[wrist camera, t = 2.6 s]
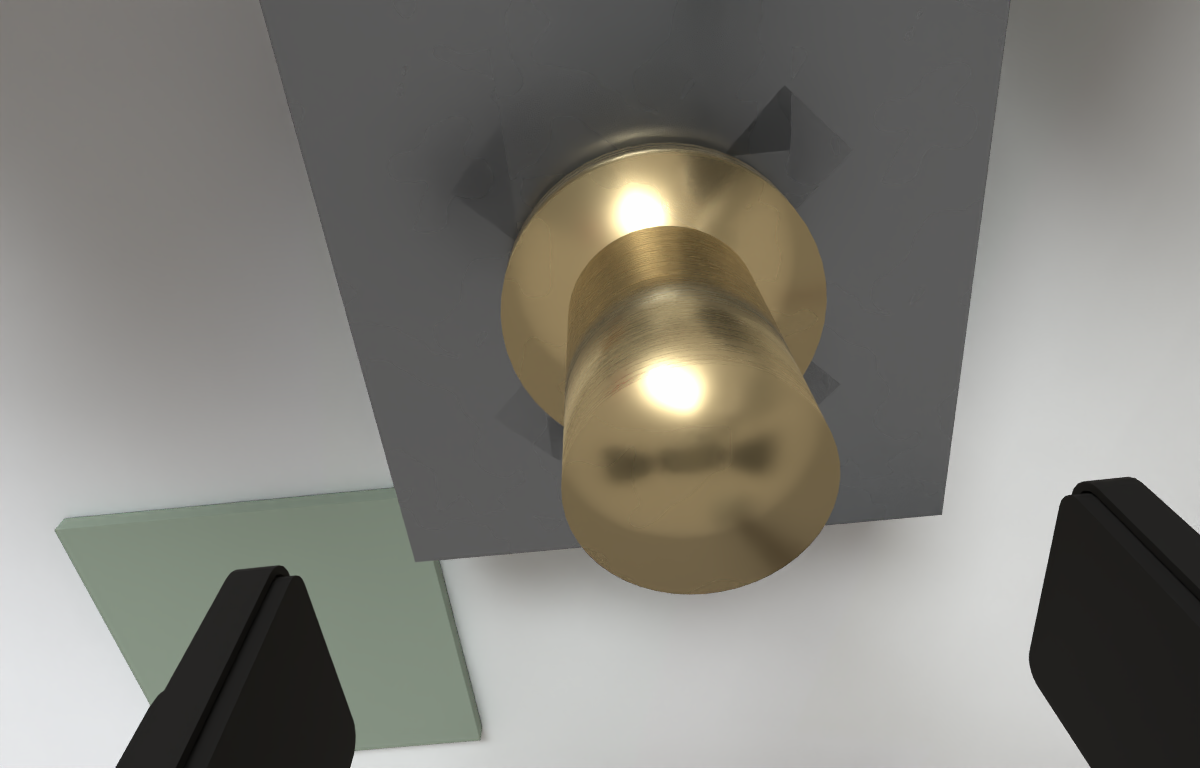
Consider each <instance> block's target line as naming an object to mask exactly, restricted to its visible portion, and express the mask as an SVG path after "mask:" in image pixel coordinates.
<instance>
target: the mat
mask: <svg viewBox="0 0 1200 768" xmlns="http://www.w3.org/2000/svg"><path fill="white" fill-rule="evenodd" d="M55 532H56V534H57V536H58V538H59V539H60V541H61V543H62V545H63V547H64V549H65V550H66V552H67V554H68V556H69V558H70V559H71V561H72V563H73V565H74V567H75V569H76V570H77V572H78V574H79V576H80V578H81V580H82V581H83V583H84V585H85V587H86V589H87V591H88V592H89V594H90V596H91V598H92V600H93V601H94V603H95V605H96V607H97V609H98V611H99V612H100V614H101V616H102V618H103V620H104V622H105V623H106V625H107V627H108V629H109V631H110V633H111V634H112V636H113V638H114V640H115V642H116V643H117V645H118V647H119V649H120V651H121V653H122V654H123V656H124V658H125V660H126V662H127V664H128V665H129V667H130V669H131V671H132V673H133V675H134V676H135V678H136V680H137V682H138V684H139V685H140V687H141V689H142V691H143V693H144V695H145V696H146V698H147V700H148V702H149V704H150V706H151V704H152V703H153V701H154V700H155V699H156V697H157V696H158V695H159V694H160V693H161V692H163V691H164V690H165V688H166V686H167V684H168V682H169V681H170V679H171V677H172V675H173V673H174V672H175V670H176V668H177V666H178V664H179V663H180V661H181V659H182V657H183V655H184V654H185V652H186V650H187V648H188V646H189V645H190V643H191V641H192V639H193V637H194V636H195V634H196V632H197V630H198V628H199V627H200V625H201V623H202V621H203V619H204V618H205V616H206V614H207V612H208V610H209V608H210V607H211V605H212V603H213V601H214V599H215V598H216V596H217V594H218V592H219V590H220V589H221V587H222V585H223V583H224V581H225V580H226V578H227V577H228V575H229V574H230V573H231V572H232V571H234V570H237V569H247V568H256V567H266V566H276V565H280V566H284V567H285V568H286V569H287V570H288V572H289V574H290V576H295V575H297V576H300V577H301V578H302V579H303V581H304V583H305V586H306V589H307V591H308V594H309V597H310V600H311V603H312V605H313V608H314V611H315V614H316V617H317V619H318V622H319V625H320V628H321V631H322V633H323V636H324V639H325V642H326V645H327V647H328V650H329V653H330V656H331V659H332V661H333V664H334V667H335V670H336V673H337V675H338V678H339V681H340V684H341V687H342V689H343V692H344V695H345V698H346V701H347V703H348V706H349V709H350V712H351V715H352V717H353V720H354V724H355V731H356V743H355V751H357V750H369V749H381V748H393V747H406V746H418V745H430V744H442V743H454V742H466V741H478V740H480V738H481V730H482V726H481V722H480V718H479V714H478V710H477V706H476V703H475V699H474V695H473V691H472V687H471V683H470V679H469V675H468V671H467V668H466V664H465V660H464V656H463V652H462V648H461V644H460V640H459V637H458V633H457V629H456V625H455V621H454V617H453V613H452V609H451V606H450V602H449V598H448V594H447V590H446V586H445V582H444V578H443V575H442V571H441V567H440V563H439V560H435V561H424V562H415V560H414V556H413V553H412V549H411V545H410V542H409V538H408V535H407V531H406V527H405V524H404V520H403V517H402V513H401V509H400V506H399V502H398V499H397V495H396V491H395V488H385V489H375V490H364V491H353V492H343V493H332V494H321V495H311V496H300V497H289V498H279V499H268V500H257V501H247V502H236V503H225V504H215V505H204V506H193V507H183V508H172V509H161V510H150V511H140V512H129V513H118V514H108V515H97V516H86V517H76V518H65V519H64V520H63V521H62V522H61V523H60V524H59V526H58V527H57V528H56V529H55Z"/></svg>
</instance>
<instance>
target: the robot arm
mask: <svg viewBox="0 0 1200 768" xmlns="http://www.w3.org/2000/svg"><path fill="white" fill-rule="evenodd" d="M1029 664H1030V668H1031V673H1032V675H1033V678H1034V680H1035V682H1036V684H1037V686H1038V687H1039V689H1040V690H1041V692H1042V694H1043V695H1044V697H1045V698H1046V700H1047V701H1048V703H1049V704H1050V706H1051V707H1052V709H1053V710H1054V712H1055V714H1056V715H1057V717H1058V718H1059V720H1060V721H1061V723H1062V724H1063V726H1064V727H1065V729H1066V730H1067V732H1068V733H1069V735H1070V737H1071V738H1072V740H1073V741H1074V743H1075V744H1076V746H1077V747H1078V749H1079V750H1080V752H1081V753H1082V755H1083V756H1084V758H1085V760H1086V761H1087V763H1088V764H1089V766H1090V767H1091V768H1200V535H1199V534H1198V533H1197V532H1196V531H1195V530H1194V529H1193V528H1192V527H1191V526H1189V525H1188V524H1187V523H1186V522H1185V521H1184V520H1183V519H1182V518H1181V517H1179V516H1178V515H1177V514H1176V513H1175V512H1174V511H1173V510H1172V509H1171V508H1170V507H1168V506H1167V505H1166V504H1165V503H1164V502H1163V501H1162V500H1161V499H1160V498H1158V497H1157V496H1156V495H1155V494H1154V493H1153V492H1152V491H1151V490H1150V489H1148V488H1147V487H1146V486H1145V485H1144V484H1143V483H1142V482H1140V481H1139V480H1137V479H1136V478H1131V477H1122V478H1113V479H1103V480H1093V481H1084V482H1081V483H1078V484H1077V485H1076V487H1075V488H1074V489H1073V492H1072V495H1068V496H1065V497H1064V498H1063V499H1062V500H1061V503H1060V506H1059V511H1058V516H1057V520H1056V525H1055V530H1054V535H1053V540H1052V545H1051V549H1050V554H1049V559H1048V564H1047V569H1046V574H1045V579H1044V583H1043V588H1042V593H1041V598H1040V603H1039V608H1038V612H1037V617H1036V622H1035V627H1034V632H1033V637H1032V642H1031V646H1030V651H1029ZM355 743H356V731H355V724H354V720H353V717H352V715H351V712H350V709H349V706H348V703H347V701H346V698H345V695H344V692H343V689H342V687H341V684H340V681H339V678H338V675H337V673H336V670H335V667H334V664H333V661H332V659H331V656H330V653H329V650H328V647H327V645H326V642H325V639H324V636H323V633H322V631H321V628H320V625H319V622H318V619H317V617H316V614H315V611H314V608H313V605H312V603H311V600H310V597H309V594H308V591H307V589H306V586H305V583H304V581H303V579H302V578H301V577H300V576H297V575H295V576H290V574H289V572H288V570H287V569H286V568H285V567H284V566H280V565H276V566H266V567H256V568H247V569H237V570H234V571H232V572H231V573H230V574H229V575H228V577H227V578H226V580H225V581H224V583H223V585H222V587H221V589H220V590H219V592H218V594H217V596H216V598H215V599H214V601H213V603H212V605H211V607H210V608H209V610H208V612H207V614H206V616H205V618H204V619H203V621H202V623H201V625H200V627H199V628H198V630H197V632H196V634H195V636H194V637H193V639H192V641H191V643H190V645H189V646H188V648H187V650H186V652H185V654H184V655H183V657H182V659H181V661H180V663H179V664H178V666H177V668H176V670H175V672H174V673H173V675H172V677H171V679H170V681H169V682H168V684H167V686H166V688H165V690H164V691H163V692H161V693H160V694H159V695H158V696H157V697H156V699H155V700H154V701H153V703H152V704H151V706H150V707H149V709H148V711H147V712H146V714H145V716H144V718H143V720H142V721H141V723H140V725H139V727H138V728H137V730H136V732H135V734H134V736H133V737H132V739H131V741H130V743H129V744H128V746H127V748H126V750H125V752H124V753H123V755H122V757H121V759H120V760H119V762H118V764H117V766H116V768H350V767H351V763H352V759H353V755H354V751H355Z"/></svg>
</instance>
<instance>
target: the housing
mask: <svg viewBox="0 0 1200 768" xmlns="http://www.w3.org/2000/svg"><path fill="white" fill-rule="evenodd" d="M260 4H261V8H262V11H263V15H264V18H265V22H266V26H267V29H268V33H269V36H270V40H271V44H272V47H273V51H274V54H275V58H276V62H277V65H278V69H279V73H280V76H281V80H282V83H283V87H284V91H285V94H286V98H287V101H288V105H289V109H290V112H291V116H292V119H293V123H294V127H295V130H296V134H297V137H298V141H299V145H300V148H301V152H302V156H303V159H304V163H305V166H306V170H307V174H308V177H309V181H310V184H311V188H312V192H313V195H314V199H315V202H316V206H317V210H318V213H319V217H320V221H321V224H322V228H323V231H324V235H325V239H326V242H327V246H328V249H329V253H330V257H331V260H332V264H333V267H334V271H335V275H336V278H337V282H338V286H339V289H340V293H341V296H342V300H343V304H344V307H345V311H346V314H347V318H348V322H349V325H350V329H351V332H352V336H353V340H354V343H355V347H356V351H357V354H358V358H359V361H360V365H361V369H362V372H363V376H364V379H365V383H366V387H367V390H368V394H369V397H370V401H371V405H372V408H373V412H374V416H375V419H376V423H377V426H378V430H379V434H380V437H381V441H382V444H383V448H384V452H385V455H386V459H387V462H388V466H389V470H390V473H391V477H392V480H393V484H394V488H395V491H396V495H397V499H398V502H399V506H400V509H401V513H402V517H403V520H404V524H405V527H406V531H407V535H408V538H409V542H410V545H411V549H412V553H413V556H414V560H415V562H424V561H435V560H446V559H457V558H468V557H479V556H491V555H502V554H513V553H524V552H535V551H546V550H557V549H568V548H579V547H582V546H581V545H580V544H579V543H578V541H577V539H576V538H575V536H574V535H573V533H572V531H571V529H570V527H569V524H568V522H567V519H566V517H565V513H564V508H563V504H562V493H561V480H562V455H563V430H564V426H562V425H561V424H560V423H558V422H557V421H556V420H554V419H553V418H552V417H551V416H549V415H548V414H547V413H546V412H545V411H544V410H543V409H542V408H541V407H540V406H539V405H538V404H537V403H536V402H535V401H534V399H533V398H532V397H531V396H530V394H529V393H528V392H527V390H526V389H525V388H524V386H523V385H522V383H521V381H520V379H519V378H518V376H517V374H516V373H515V371H514V368H513V366H512V363H511V361H510V359H509V356H508V354H507V350H506V346H505V342H504V338H503V333H502V324H501V295H502V290H503V284H504V279H505V274H506V269H507V265H508V261H509V257H510V254H511V251H512V248H513V245H514V242H515V239H516V237H517V235H518V233H519V231H520V229H521V227H522V225H523V223H524V221H525V220H526V218H527V217H528V216H529V214H530V213H531V211H532V210H533V208H534V207H535V205H536V204H537V203H538V202H539V201H540V200H541V198H542V197H543V196H544V195H545V194H546V193H547V192H548V191H549V190H550V188H552V187H553V186H554V185H555V184H556V183H558V182H559V181H560V180H561V179H562V178H564V177H565V176H566V175H567V174H569V173H570V172H572V171H573V170H575V169H577V168H578V167H580V166H581V165H583V164H584V163H586V162H588V161H590V160H593V159H595V158H597V157H599V156H601V155H603V154H606V153H609V152H612V151H615V150H618V149H621V148H625V147H629V146H634V145H640V144H646V143H662V142H675V143H685V144H694V145H698V146H703V147H707V148H711V149H715V150H717V151H720V152H723V153H725V154H728V155H730V156H733V157H735V158H737V159H739V160H741V161H742V162H744V163H746V164H748V165H749V166H751V167H753V168H754V169H756V170H757V171H758V172H759V173H761V174H762V175H763V176H765V177H766V178H767V179H769V180H770V181H771V182H772V183H773V184H774V185H775V186H776V187H777V189H778V190H779V191H780V192H781V193H782V194H783V195H784V196H785V197H786V198H787V200H788V201H789V202H790V204H791V205H792V206H793V207H794V209H795V210H796V211H797V213H798V214H799V215H800V217H801V218H802V220H803V221H804V222H805V224H806V225H807V227H808V229H809V231H810V233H811V235H812V237H813V239H814V241H815V243H816V245H817V248H818V251H819V254H820V257H821V260H822V263H823V268H824V274H825V279H826V295H827V304H826V313H825V322H824V326H823V330H822V334H821V338H820V341H819V344H818V346H817V349H816V351H815V354H814V356H813V359H812V361H811V362H810V364H809V366H808V368H807V370H806V371H805V373H804V375H803V378H804V379H805V381H806V383H807V385H808V387H809V389H810V391H811V393H812V395H813V397H814V399H815V401H816V403H817V405H818V407H819V409H820V411H821V413H822V415H823V417H824V419H825V421H826V423H827V425H828V427H829V429H830V431H831V433H832V435H833V438H834V441H835V443H836V446H837V450H838V455H839V460H840V483H839V491H838V495H837V498H836V502H835V505H834V508H833V510H832V512H831V514H830V516H829V519H828V521H827V522H826V524H825V525H833V524H844V523H855V522H866V521H877V520H888V519H899V518H910V517H921V516H932V515H942V509H943V501H944V494H945V486H946V479H947V471H948V464H949V456H950V449H951V441H952V434H953V426H954V419H955V411H956V404H957V396H958V389H959V381H960V374H961V366H962V359H963V351H964V344H965V336H966V329H967V321H968V314H969V306H970V299H971V291H972V284H973V276H974V269H975V261H976V254H977V246H978V239H979V231H980V224H981V216H982V209H983V201H984V194H985V186H986V179H987V171H988V164H989V156H990V149H991V141H992V134H993V126H994V119H995V111H996V104H997V96H998V89H999V81H1000V74H1001V66H1002V59H1003V51H1004V44H1005V36H1006V29H1007V21H1008V13H1009V6H1010V0H260Z"/></svg>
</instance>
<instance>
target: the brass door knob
mask: <svg viewBox="0 0 1200 768" xmlns="http://www.w3.org/2000/svg"><path fill="white" fill-rule="evenodd" d="M826 304H827V295H826V279H825V274H824V268H823V263H822V260H821V257H820V254H819V251H818V248H817V245H816V243H815V241H814V239H813V237H812V235H811V233H810V231H809V229H808V227H807V225H806V224H805V222H804V221H803V220H802V218H801V217H800V215H799V214H798V213H797V211H796V210H795V209H794V207H793V206H792V205H791V204H790V202H789V201H788V200H787V198H786V197H785V196H784V195H783V194H782V193H781V192H780V191H779V190H778V189H777V187H776V186H775V185H774V184H773V183H772V182H771V181H770V180H769V179H767V178H766V177H765V176H763V175H762V174H761V173H759V172H758V171H757V170H756V169H754V168H753V167H751V166H749V165H748V164H746V163H744V162H742V161H741V160H739V159H737V158H735V157H733V156H730V155H728V154H725V153H723V152H720V151H717V150H715V149H711V148H707V147H703V146H698V145H694V144H685V143H675V142H662V143H646V144H640V145H634V146H629V147H625V148H621V149H618V150H615V151H612V152H609V153H606V154H603V155H601V156H599V157H597V158H595V159H593V160H590V161H588V162H586V163H584V164H583V165H581V166H580V167H578V168H577V169H575V170H573V171H572V172H570V173H569V174H567V175H566V176H565V177H564V178H562V179H561V180H560V181H559V182H558V183H556V184H555V185H554V186H553V187H552V188H550V190H549V191H548V192H547V193H546V194H545V195H544V196H543V197H542V198H541V200H540V201H539V202H538V203H537V204H536V205H535V207H534V208H533V210H532V211H531V213H530V214H529V216H528V217H527V218H526V220H525V221H524V223H523V225H522V227H521V229H520V231H519V233H518V235H517V237H516V239H515V242H514V245H513V248H512V251H511V254H510V257H509V261H508V265H507V269H506V274H505V279H504V284H503V290H502V295H501V324H502V333H503V338H504V342H505V346H506V350H507V354H508V356H509V359H510V361H511V363H512V366H513V368H514V371H515V373H516V374H517V376H518V378H519V379H520V381H521V383H522V385H523V386H524V388H525V389H526V390H527V392H528V393H529V394H530V396H531V397H532V398H533V399H534V401H535V402H536V403H537V404H538V405H539V406H540V407H541V408H542V409H543V410H544V411H545V412H546V413H547V414H548V415H549V416H551V417H552V418H553V419H554V420H556V421H557V422H558V423H560V424H561V425H562V426H564V430H563V455H562V480H561V493H562V504H563V508H564V513H565V517H566V519H567V522H568V524H569V527H570V529H571V531H572V533H573V535H574V536H575V538H576V539H577V541H578V543H579V544H580V545H581V546H582V548H583V549H584V550H585V551H586V553H587V554H588V555H589V556H590V557H591V558H593V559H594V560H595V561H596V562H597V563H598V564H599V565H600V566H602V567H603V568H605V569H606V570H608V571H609V572H610V573H612V574H614V575H616V576H617V577H619V578H621V579H623V580H625V581H627V582H630V583H632V584H635V585H638V586H640V587H644V588H647V589H651V590H655V591H660V592H666V593H673V594H708V593H715V592H722V591H726V590H731V589H735V588H739V587H742V586H745V585H748V584H751V583H753V582H756V581H758V580H760V579H762V578H765V577H767V576H769V575H771V574H773V573H774V572H776V571H778V570H779V569H781V568H783V567H784V566H786V565H787V564H788V563H790V562H791V561H792V560H794V559H795V558H796V557H798V556H799V555H800V554H801V553H802V552H803V551H804V550H805V549H806V548H807V547H808V546H809V545H810V544H811V543H812V542H813V540H814V539H815V538H816V537H817V536H818V534H819V533H820V532H821V530H822V529H823V527H824V525H825V524H826V522H827V521H828V519H829V516H830V514H831V512H832V510H833V508H834V505H835V502H836V498H837V495H838V491H839V483H840V460H839V455H838V450H837V446H836V443H835V441H834V438H833V435H832V433H831V431H830V429H829V427H828V425H827V423H826V421H825V419H824V417H823V415H822V413H821V411H820V409H819V407H818V405H817V403H816V401H815V399H814V397H813V395H812V393H811V391H810V389H809V387H808V385H807V383H806V381H805V379H804V378H803V375H804V373H805V371H806V370H807V368H808V366H809V364H810V362H811V361H812V359H813V356H814V354H815V351H816V349H817V346H818V344H819V341H820V338H821V334H822V330H823V326H824V322H825V313H826Z"/></svg>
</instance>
